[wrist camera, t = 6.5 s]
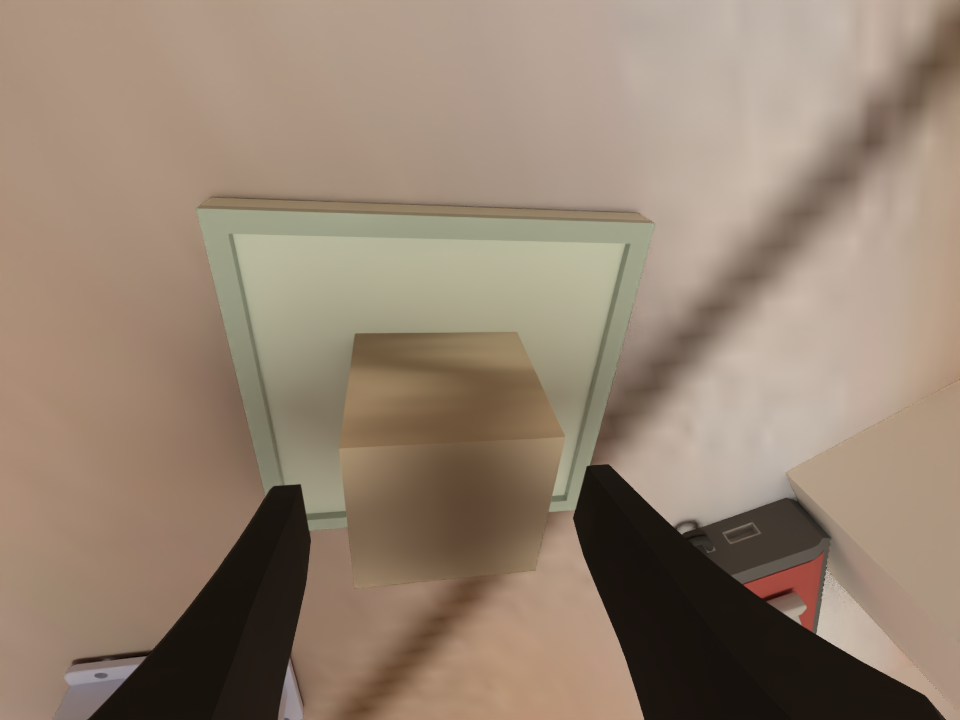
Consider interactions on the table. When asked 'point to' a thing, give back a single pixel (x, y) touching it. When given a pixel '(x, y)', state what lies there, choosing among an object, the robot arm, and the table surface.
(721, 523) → the walkie-talkie
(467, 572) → the beech cube
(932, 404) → the milk
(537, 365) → the sage tile
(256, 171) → the table surface
